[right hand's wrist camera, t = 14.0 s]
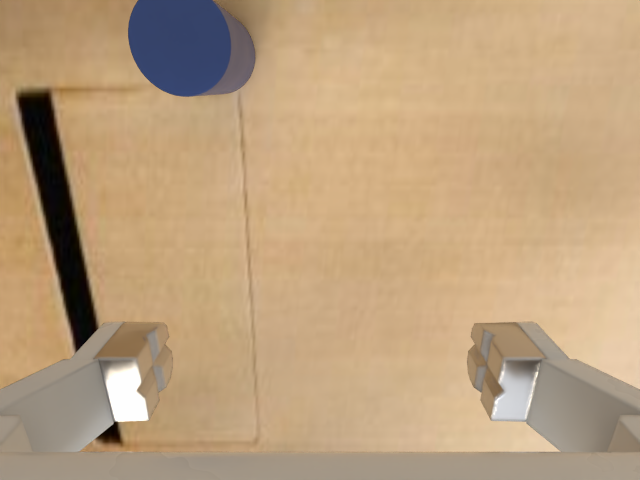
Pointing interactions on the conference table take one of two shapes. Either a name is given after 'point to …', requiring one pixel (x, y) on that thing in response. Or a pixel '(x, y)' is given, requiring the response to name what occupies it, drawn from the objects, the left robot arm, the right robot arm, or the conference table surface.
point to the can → (190, 47)
